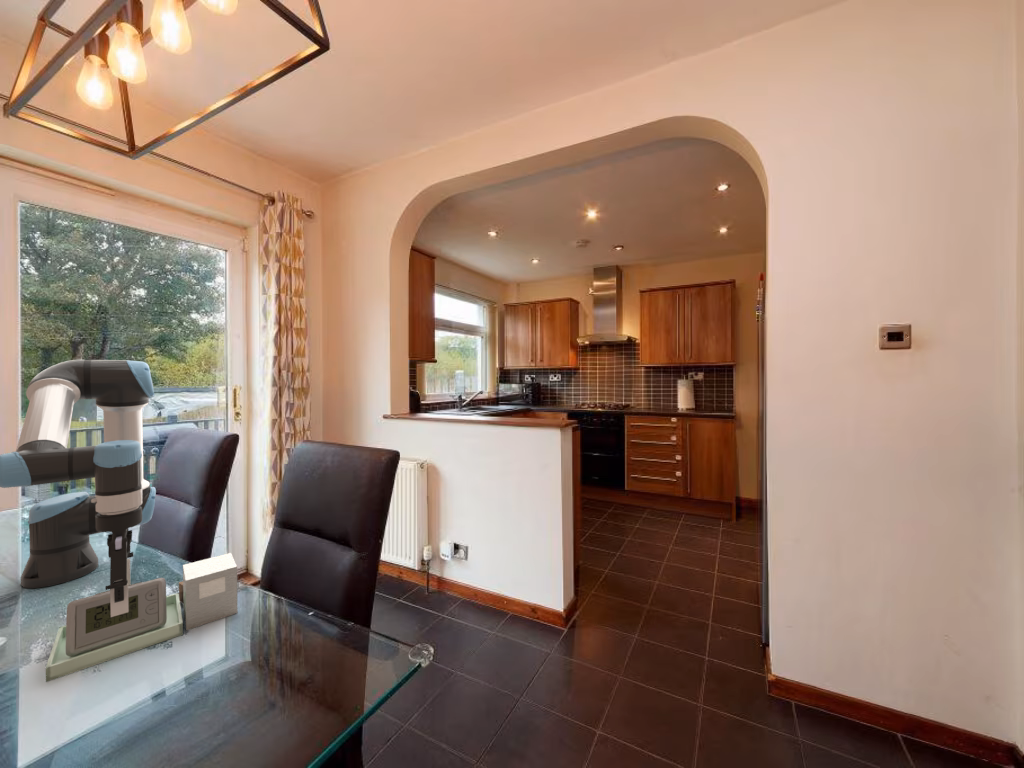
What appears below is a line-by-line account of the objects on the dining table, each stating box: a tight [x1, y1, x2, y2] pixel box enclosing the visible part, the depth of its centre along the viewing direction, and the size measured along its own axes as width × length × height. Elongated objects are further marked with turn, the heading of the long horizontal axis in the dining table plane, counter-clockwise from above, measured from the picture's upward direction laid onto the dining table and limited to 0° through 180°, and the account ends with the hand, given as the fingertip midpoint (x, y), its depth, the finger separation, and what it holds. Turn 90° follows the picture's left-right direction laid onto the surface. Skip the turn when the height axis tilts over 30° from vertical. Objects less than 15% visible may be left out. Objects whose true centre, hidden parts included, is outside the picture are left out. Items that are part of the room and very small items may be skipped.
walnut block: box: [178, 580, 183, 604], centre depth 104 cm, size 5×5×5 cm
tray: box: [44, 592, 184, 683], centre depth 89 cm, size 17×21×3 cm
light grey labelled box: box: [182, 552, 239, 631], centre depth 99 cm, size 10×10×12 cm
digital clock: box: [65, 577, 167, 656], centre depth 89 cm, size 16×9×11 cm, turn 122°
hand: (121, 599), depth 90 cm, fingers open, 13 cm apart
